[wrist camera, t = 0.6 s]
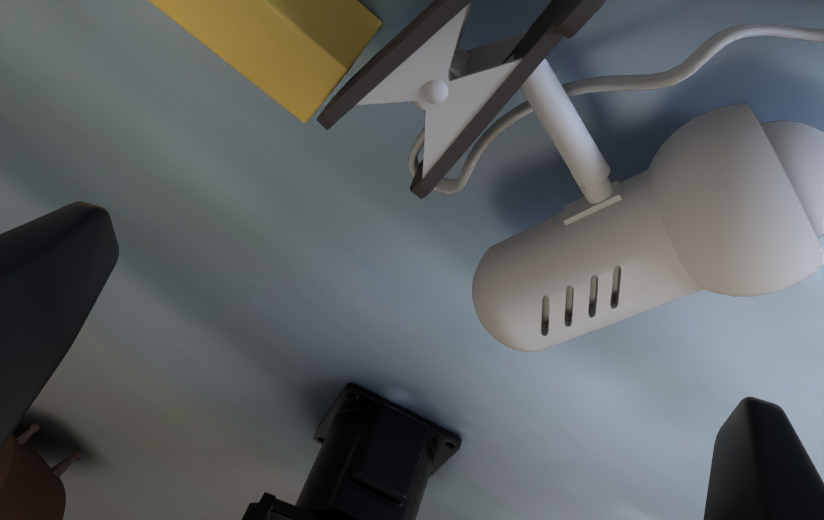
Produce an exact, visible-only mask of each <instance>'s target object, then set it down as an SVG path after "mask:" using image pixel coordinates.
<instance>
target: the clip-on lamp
mask: <svg viewBox="0 0 824 520" xmlns="http://www.w3.org/2000/svg"><path fill="white" fill-rule="evenodd" d="M605 1H606V0H552V1H551V2H550V4H549V5H548V6H547V7H546V9H545V10H544V11H543V12H542V13H541V15H540V16H539V17H538V18H537V20H536V21H535V22H534V23H533V24H532V26H531V27H530V28H529V29H528V31H527V32H523V33H520V34H517V35H514V36H511V37H508V38H505V39H502V40H498V41H495V42H492V43H489V44H486V45H483V46H480V47H477V48H473V49H470V50H467V51H463V50H462V49H459V45H460V41H461V38H462V35H463V31H464V28H465V25H466V22H467V18H468V15H469V12H470V8H471V5H472V2H473V0H435V1H434V2H433V3H432V4H430V5H429V6H428V7H427V8H426V9H425V10H424V11H423V12H422V13H421V14H420V15H418V16H417V17H416V18H415V19H414V20H413V21H412V22H411V23H410V24H409V25H408V26H406V27H405V28H404V29H403V30H402V31H401V32H400V33H399V34H398V35H397V36H396V37H394V38H393V39H392V40H391V41H390V42H389V43H388V44H387V45H386V46H385V47H384V48H382V49H381V50H380V51H379V52H378V53H377V54H376V55H375V56H374V57H373V58H372V59H371V60H370V61H369V62H368V63H367V64H365V65H364V66H363V67H362V68H361V69H360V70H359V71H358V72H357V73H356V74H355V75H354V76H353V77H352V78H351V79H350V80H349V81H348V82H347V83H346V84H345V85H344V86H343V87H342V88H341V89H340V91H339V92H338V93H337V94H336V95H335V96H334V97H333V99H332V100H331V101H330V102H329V104H328V105H327V106H326V107H325V109H324V110H323V111H322V113H321V114H320V115H319V117H318V118H317V121H318V122H319V123H320V124H321V125H322V126H323V127H324V128H325V129H326V130H328V129H329V128H331V127H332V126H333V125H334V124H335V123H336V122H337V121H338V120H339V119H340V118H342V117H343V116H344V115H345V114H346V113H347V112H348V111H349V110H350V109H352V108H353V107H354V106H357V105H370V104H382V103H395V102H408V101H412V103H413V104H414V105H415V106H416V107H417V108H418V109H421V110H424V111H426V122H425V127H424V128H423V130H422V131H421V133H420V134H419V136H418V137H417V139H416V141H415V142H414V144H413V146H412V149H411V152H410V155H409V158H408V168H409V170H410V172H411V174H412V176H413V177H414V178H413V181H412V184H411V186H410V191H411V192H413V193H414V194H415V195H417V196H418V197H419V198H420V199H422V198H424V197H425V196H427V195H428V194H429V193H430V192H431V191H432V190H435V191H438V192H441V193H445V194H456V193H458V192H460V191H461V190H462V189H463V188H464V186H465V185H466V183H467V181H468V179H469V178H470V176H471V174H472V172H473V170H474V168H475V166H476V164H477V163H478V161H479V159H480V158H481V156H482V154H483V153H484V152H485V150H486V149H487V148H488V146H489V145H490V144H491V142H492V141H493V140H494V139H495V138H496V137H497V136H498V135H500V134H501V133H502V132H503V131H504V130H505V129H506V128H508V127H509V126H510V125H512V124H513V123H515V122H516V121H517V120H519V119H520V118H522V117H524V116H526V115H527V114H529V113H531V112H533V111H534V112H535V113H536V115H537V117H538V118H539V120H540V122H541V123H542V125H543V127H544V128H545V130H546V131H547V133H548V135H549V136H550V138H551V140H552V141H553V143H554V145H555V146H556V148H557V150H558V151H559V153H560V154H561V156H562V158H563V159H564V161H565V163H566V164H567V166H568V169H569V170H570V171H571V174H572V176H573V178H574V179H575V181H576V182H577V184H578V186H579V187H580V189H581V191H582V192H583V194H584V197H582V198H580V199H578V200H576V201H574V202H572V203H570V204H568V205H566V206H564V207H563V212H561V213H559V214H557V215H555V216H553V217H551V218H549V219H546V220H544V221H542V222H540V223H538V224H536V225H534V226H532V227H530V228H528V229H526V230H524V231H522V232H520V233H518V234H516V235H514V236H512V237H510V238H508V239H506V240H504V241H502V242H500V243H498V244H496V245H494V246H492V247H490V248H489V249H488V250H487V252H486V253H485V254H484V255H483V257H482V259H481V260H480V262H479V265H478V267H477V269H476V272H475V274H474V278H473V286H472V297H473V303H474V307H475V310H476V313H477V315H478V317H479V320H480V321H481V323H482V325H483V326H484V328H485V329H486V330H487V331H488V332H489V333H490V334H491V335H492V336H493V337H494V338H495V339H496V340H498V341H499V342H501V343H502V344H504V345H506V346H507V347H510V348H512V349H515V350H519V351H524V352H537V351H541V350H544V349H547V348H549V347H552V346H555V345H557V344H560V343H563V342H565V341H568V340H571V339H573V338H576V337H579V336H581V335H584V334H586V333H589V332H592V331H594V330H597V329H600V328H602V327H605V326H608V325H610V324H613V323H616V322H618V321H621V320H624V319H626V318H629V317H631V316H634V315H637V314H639V313H642V312H645V311H647V310H650V309H653V308H655V307H658V306H661V305H663V304H666V303H669V302H671V301H674V300H677V299H679V298H682V297H684V296H687V295H690V294H692V293H695V292H698V291H700V290H703V289H704V290H708V291H711V292H714V293H718V294H723V295H730V296H758V295H765V294H770V293H774V292H777V291H781V290H784V289H786V288H789V287H791V286H793V285H795V284H797V283H799V282H801V281H803V280H804V279H806V278H807V277H809V276H810V275H812V274H813V273H815V272H816V271H817V270H818V269H819V268H820V267H821V266H822V265H824V253H823V251H822V248H821V246H820V244H819V241H818V239H819V238H820V237H822V236H823V235H824V132H822V131H820V130H819V129H817V128H815V127H813V126H810V125H807V124H804V123H799V122H794V121H772V122H766V123H762V124H760V123H759V121H758V120H757V118H756V116H755V114H754V113H753V111H752V109H751V108H750V106H749V105H748V103H745V104H735V105H729V106H725V107H721V108H717V109H713V110H711V111H709V112H706V113H704V114H701V115H699V116H697V117H695V118H694V119H692V120H690V121H689V122H687V123H685V124H684V125H683V126H681V127H680V128H679V129H678V130H676V131H675V132H674V133H673V134H672V135H671V136H670V137H669V138H668V139H667V140H666V141H665V142H664V143H663V144H662V146H661V147H660V149H659V150H658V152H657V153H656V154H655V156H654V157H653V159H652V161H651V164H650V166H649V168H648V170H646V171H644V172H642V173H640V174H638V175H636V176H634V177H632V178H630V179H628V180H626V181H624V182H621V183H619V181H618V180H617V181H615V182H613V183H611V182H610V180H609V178H608V177H607V176H608V175H609V174H610V171H611V170H610V168H609V166H608V164H607V163H606V161H605V159H604V158H603V156H602V154H601V152H600V151H599V149H598V147H597V146H596V144H595V142H594V140H593V139H592V137H591V135H590V134H589V132H588V130H587V128H586V127H585V125H584V123H583V122H582V120H581V118H580V116H579V115H578V113H577V111H576V109H575V108H574V106H573V104H572V103H571V101H570V99H569V97H572V96H576V95H580V94H584V93H593V92H603V91H633V90H654V89H659V88H664V87H670V86H673V85H675V84H677V83H679V82H681V81H683V80H685V79H687V78H689V77H690V76H691V75H692V74H694V73H695V72H696V71H697V70H698V69H700V68H701V67H702V66H703V65H704V64H705V63H706V62H707V61H708V60H709V59H710V58H712V57H713V56H714V55H715V54H716V53H717V52H718V51H720V50H721V49H722V48H723V47H725V46H726V45H727V44H729V43H731V42H734V41H736V40H738V39H740V38H747V37H753V36H772V37H782V38H791V39H799V40H807V41H823V42H824V29H810V28H800V27H790V26H779V25H741V26H735V27H730V28H728V29H725V30H723V31H720V32H718V33H716V34H715V35H713V36H712V37H711V38H710V39H708V40H707V41H706V42H704V43H703V44H702V45H701V46H700V47H699V48H698V49H697V50H696V51H695V52H694V53H693V54H692V55H691V56H690V57H689V58H688V59H686V60H685V61H684V62H683V63H682V64H680V65H678V66H676V67H674V68H673V69H671V70H669V71H666V72H661V73H655V74H650V75H619V76H602V77H595V78H587V79H582V80H578V81H575V82H571V83H568V84H564V85H561V84H560V82H559V80H558V79H557V77H556V75H555V73H554V72H553V70H552V68H551V67H550V65H549V63H548V61H547V60H546V56H547V55H548V54H549V53H550V52H551V51H552V49H553V48H554V47H555V46H556V45H557V44H558V42H559V41H560V40H561V39H562V38H563V37H564V36H565V37H566V38H567V39H569V38H571V37H572V36H574V35H575V34H576V33H577V32H578V31H579V30H580V29H581V28H582V26H583V25H584V24H585V23H586V22H587V21H588V20H589V19H590V18H591V17H592V16H593V15H594V14H595V13H596V12H597V11H598V10H599V8H600V7H601V6H602V5H603V4H604V3H605ZM519 88H520V89H521V90H522V92H523V94H524V95H525V97H526V99H527V100H528V101H526V102H524V103H522V104H520V105H519V106H517V107H515V108H514V109H512V110H511V111H509V112H508V113H507V114H505V115H504V116H503V117H501V118H500V119H498V120H497V121H496V122H495V123H494V124H493V125H492V126H491V127H490V128H489V129H488V130H487V131H486V132H485V133H484V134H483V135H482V136H481V138H480V139H479V140H478V142H477V143H476V144H475V145H474V147H473V149H472V151H471V152H470V154H469V156H468V158H467V160H466V162H465V164H464V166H463V169H462V171H461V174H460V176H459V178H457V179H449V178H445V177H444V176H445V175H446V173H447V172H448V171H449V170H450V169H451V168H452V166H453V165H454V164H455V163H456V162H457V161H458V159H459V158H460V157H461V156H462V155H463V154H464V152H465V151H466V150H467V149H468V148H469V146H470V145H471V144H472V143H473V142H474V141H475V139H476V138H477V137H478V136H479V135H480V134H481V132H482V131H483V130H484V129H485V128H486V127H487V125H488V124H489V123H490V122H491V121H492V120H493V118H494V117H495V116H496V115H497V114H498V113H499V111H500V110H501V109H502V108H503V107H504V106H505V104H506V103H507V102H508V101H509V100H510V99H511V97H512V96H513V95H514V94H515V93H516V92H517V90H518V89H519ZM423 144H424V157H423V160H422V161H421V163H420V164H419V162H418V160H417V155H418V153H419V151H420V149H421V147H422V146H423Z"/></svg>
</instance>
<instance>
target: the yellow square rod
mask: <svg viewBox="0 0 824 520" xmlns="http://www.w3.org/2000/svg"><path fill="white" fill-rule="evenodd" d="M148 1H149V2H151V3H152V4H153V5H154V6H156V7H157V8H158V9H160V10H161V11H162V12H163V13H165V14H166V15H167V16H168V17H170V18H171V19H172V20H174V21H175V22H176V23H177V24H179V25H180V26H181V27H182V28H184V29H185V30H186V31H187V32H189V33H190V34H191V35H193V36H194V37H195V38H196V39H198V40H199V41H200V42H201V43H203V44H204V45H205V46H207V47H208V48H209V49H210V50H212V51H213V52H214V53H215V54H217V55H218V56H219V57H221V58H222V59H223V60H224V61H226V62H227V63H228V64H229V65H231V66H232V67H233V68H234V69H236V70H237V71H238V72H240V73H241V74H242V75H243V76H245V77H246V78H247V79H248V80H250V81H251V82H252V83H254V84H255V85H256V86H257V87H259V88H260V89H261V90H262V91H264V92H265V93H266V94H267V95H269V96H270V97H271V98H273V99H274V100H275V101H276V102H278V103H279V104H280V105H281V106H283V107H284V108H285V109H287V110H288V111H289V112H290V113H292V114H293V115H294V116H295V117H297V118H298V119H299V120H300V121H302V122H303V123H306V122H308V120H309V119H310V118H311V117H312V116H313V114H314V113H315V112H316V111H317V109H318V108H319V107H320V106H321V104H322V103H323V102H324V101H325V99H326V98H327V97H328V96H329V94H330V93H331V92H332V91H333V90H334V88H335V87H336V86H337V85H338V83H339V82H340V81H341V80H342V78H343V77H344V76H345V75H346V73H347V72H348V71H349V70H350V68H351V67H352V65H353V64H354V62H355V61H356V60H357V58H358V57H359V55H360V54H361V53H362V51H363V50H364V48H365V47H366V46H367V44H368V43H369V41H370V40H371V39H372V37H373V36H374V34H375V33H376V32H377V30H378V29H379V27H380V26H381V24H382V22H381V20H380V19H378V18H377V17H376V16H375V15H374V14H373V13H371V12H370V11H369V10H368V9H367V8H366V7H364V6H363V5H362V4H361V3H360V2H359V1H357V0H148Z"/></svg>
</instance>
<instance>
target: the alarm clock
mask: <svg viewBox="0 0 824 520" xmlns="http://www.w3.org/2000/svg"><path fill="white" fill-rule="evenodd" d="M38 430H39V425H38V424H36V423H34V424H32V425H31V426H30V429H29V430H27V431H26V432H24V433H23V434H22V435H20V436H19V437H16V436H14V435H12V434H11V435H10V436H9V438H8V439H7V441H6V442H5V444H4V445H3V447H2V448H1V449H0V520H63V516H64V511H65V504H66V495H65V489H64V485H63V483H62V481H61V480H60V478H59V477H60V476H61V475H62V474H63V473H64V471H65V470H66V469H67V468H68V467H69V466H70V465H71V464H72V463H73V461H74V460H75V459H79V458H80V457H81V452H80V451H79V450H75V451H73V452H72V456H70V457H68V458H66V459H65V460H63V461H62V462H60V463H58V464H57V465H55V466H53V467H52V468H50V466H49V465H48V464H47V463H46V462H45V461H44V459H43V458H42V457H41V456H40V455H39V454H38V453H37V452H36V451H35V450H34V449H33V448H31V447H30V446H29V445H28V444H26V442H27V441H28V439H29V438H30V437H31V435H32V434H33V433H34V432H37V431H38Z"/></svg>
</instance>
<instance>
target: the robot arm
mask: <svg viewBox="0 0 824 520" xmlns="http://www.w3.org/2000/svg"><path fill="white" fill-rule="evenodd" d="M118 255H119V246H118V242H117V239H116V235H115V232H114V228H113V225H112V221H111V218H110V215H109V213H108V211H107V210H106V209H105V208H103V207H100V206H96V205H93V204H90V203H86V202H74V203H71V204H69V205H67V206H65V207H62V208H60V209H58V210H55V211H53V212H51V213H49V214H46V215H44V216H42V217H39V218H37V219H35V220H32V221H30V222H28V223H26V224H23V225H21V226H19V227H16V228H14V229H12V230H10V231H7V232H5V233H3V234H0V449H1V448H2V447H3V445H4V444H5V442H6V441H7V439H8V438H9V436H10V435H11V434H12V432H13V431H14V429H15V428H16V426H17V425H18V423H19V422H20V421H21V419H22V418H23V416H24V415H25V413H26V412H27V410H28V409H29V407H30V406H31V405H32V403H33V402H34V400H35V399H36V397H37V396H38V394H39V393H40V392H41V390H42V389H43V387H44V386H45V384H46V383H47V381H48V380H49V379H50V377H51V376H52V374H53V373H54V371H55V370H56V368H57V367H58V366H59V364H60V363H61V361H62V360H63V358H64V357H65V355H66V353H67V352H68V350H69V349H70V347H71V346H72V344H73V342H74V340H75V339H76V337H77V335H78V333H79V332H80V330H81V328H82V326H83V324H84V322H85V320H86V319H87V317H88V315H89V313H90V311H91V309H92V307H93V306H94V304H95V302H96V300H97V298H98V296H99V294H100V293H101V291H102V289H103V287H104V285H105V283H106V281H107V280H108V278H109V276H110V274H111V272H112V270H113V268H114V267H115V265H116V262H117V259H118ZM313 438H314V440H315V441H316V442H318V443H319V444H321V445H322V447H321V449H320V451H319V453H318V456H317V458H316V460H315V462H314V465H313V467H312V469H311V471H310V474H309V476H308V478H307V480H306V483H305V485H304V487H303V489H302V491H301V494H300V496H299V498H298V500H297V503H296V505H295V506H294V505H291V504H289V503H286V502H284V501H281V500H279V499H276V496H274V495H272V494H269V493H267V492H265V493H264V495H263V496H262V498H261V500H260V502H258V503H250V504H249V506H248V508H247V510H246V512H245V514H244V516H243V518H242V520H415V519H416V516H417V513H418V510H419V507H420V504H421V501H422V497H423V494H424V491H425V488H426V485H427V482H428V478H429V477H430V476H431V475H432V474H433V473H434V472H435V471H436V470H438V469H439V468H440V467H441V466H442V465H443V464H444V463H445V462H446V461H447V460H448V459H449V458H450V457H451V456H452V455H454V454H455V453H456V452H457V451H458V450H459V448H460V445H461V442H462V440H461V438H460V437H459V436H458V435H456V434H454V433H452V432H450V431H448V430H446V429H444V428H442V427H440V426H438V425H436V424H435V423H433V422H431V421H429V420H427V419H425V418H423V417H421V416H419V415H417V414H415V413H413V412H411V411H409V410H407V409H405V408H403V407H401V406H399V405H397V404H395V403H393V402H391V401H389V400H387V399H385V398H383V397H381V396H379V395H377V394H375V393H373V392H371V391H369V390H367V389H365V388H363V387H361V386H359V385H357V384H354V383H348V384H346V385H345V387H344V388H343V390H342V391H341V393H340V394H339V396H338V398H337V399H336V401H335V402H334V404H333V405H332V407H331V408H330V410H329V411H328V413H327V414H326V416H325V417H324V419H323V420H322V422H321V423H320V425H319V426H318V428H317V429H316V431H315V433H314V436H313ZM704 520H824V483H823V481H822V479H821V477H820V475H819V474H818V472H817V470H816V468H815V466H814V465H813V463H812V461H811V459H810V457H809V455H808V454H807V452H806V450H805V448H804V446H803V445H802V443H801V441H800V439H799V437H798V436H797V434H796V432H795V430H794V428H793V427H792V425H791V423H790V421H789V419H788V418H787V416H786V414H785V412H784V411H783V410H782V408H781V407H779V406H778V405H776V404H774V403H771V402H767V401H764V400H760V399H757V398H754V397H746V398H744V399H743V400H742V401H741V402H740V403H739V404H738V406H737V407H736V408H735V410H734V411H733V412H732V414H731V415H730V416H729V418H728V419H727V420H726V422H725V423H724V424H723V426H722V427H721V429H720V430H719V432H718V434H717V437H716V441H715V445H714V451H713V458H712V465H711V472H710V479H709V486H708V493H707V500H706V507H705V514H704Z"/></svg>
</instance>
